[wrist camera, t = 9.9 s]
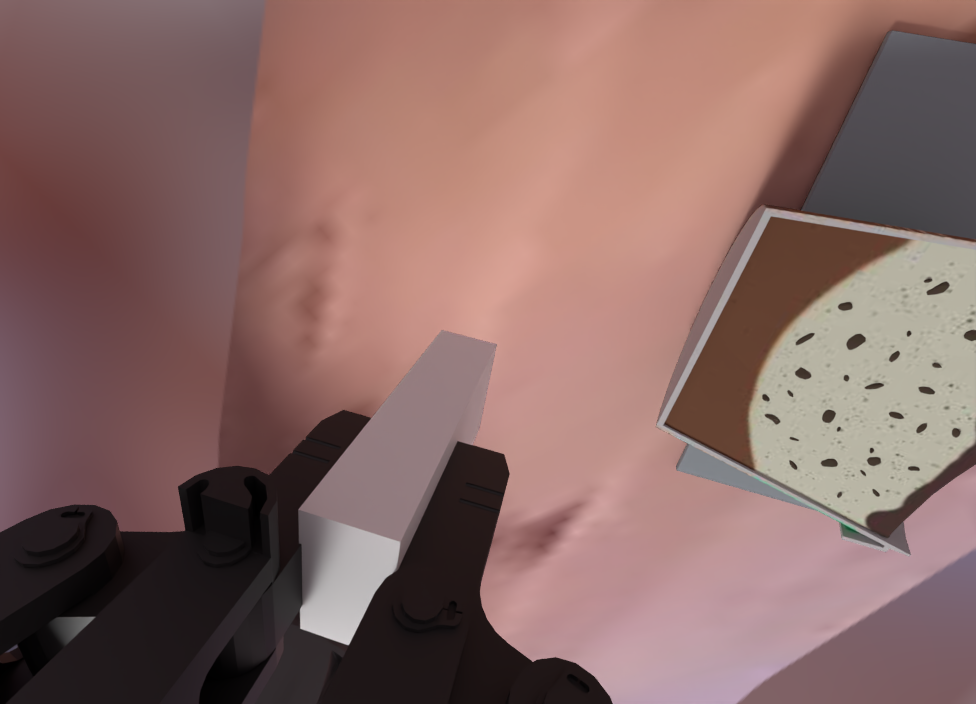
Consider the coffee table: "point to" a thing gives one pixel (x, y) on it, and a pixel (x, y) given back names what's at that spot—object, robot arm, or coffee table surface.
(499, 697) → the robot arm
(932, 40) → the mat
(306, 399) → the coffee table surface
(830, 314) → the food container
